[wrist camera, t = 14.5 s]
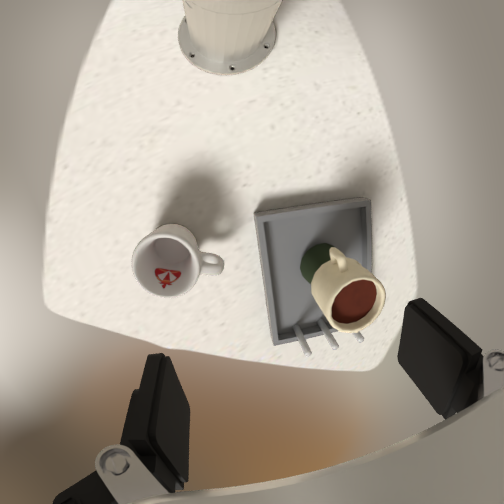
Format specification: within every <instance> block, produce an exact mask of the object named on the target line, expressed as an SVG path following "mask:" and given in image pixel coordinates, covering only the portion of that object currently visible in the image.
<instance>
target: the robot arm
mask: <svg viewBox="0 0 504 504" xmlns="http://www.w3.org/2000/svg"><path fill="white" fill-rule="evenodd" d="M182 1H183V6H184V11H185V16H184V18H183V20H182V22H181V24H180V27H179V31H178V41H179V45H180V48H181V51H182V53H183V54H184V56H185V57H186V59H187V60H188V61H189V62H190V63H191V64H192V65H194V66H195V67H197V68H199V69H200V70H203V71H205V72H208V73H212V74H216V75H236V74H240V73H244V72H246V71H249V70H251V69H253V68H255V67H256V66H258V65H259V64H261V63H262V62H263V61H264V60H265V59H266V58H267V56H268V55H269V53H270V52H271V50H272V48H273V46H274V42H275V34H276V32H275V27H274V23H273V21H272V20H273V18H274V16H275V14H276V12H277V10H278V8H279V6H280V4H281V2H282V0H182ZM264 47H267V48H268V49H266V48H264ZM192 55H194V57H193V58H192V57H191V56H192ZM231 68H234V70H233V71H232V70H231ZM481 352H482V349H481V348H480V347H479V346H478V345H477V344H476V343H474V342H473V341H472V340H471V339H470V338H469V337H468V336H467V335H465V334H464V333H463V332H462V331H461V330H460V329H459V328H457V327H456V326H455V325H454V324H453V323H452V322H450V321H449V320H448V319H447V318H446V317H444V316H443V315H442V314H441V313H440V312H439V311H437V310H436V309H435V308H434V307H433V306H431V305H430V304H429V303H428V302H427V301H425V300H424V299H423V298H418V299H415V300H412V301H410V302H408V305H407V306H406V307H405V311H404V318H403V326H402V333H401V339H400V345H399V351H398V362H399V364H400V365H401V366H402V367H403V369H404V370H405V371H406V373H407V374H408V375H409V377H410V378H411V379H412V380H413V382H414V383H415V384H416V386H417V387H418V388H419V390H420V391H421V392H422V394H423V395H424V396H425V398H426V399H427V400H428V401H429V403H430V404H431V405H432V407H433V408H434V410H435V411H436V412H437V413H438V414H439V415H442V416H443V417H444V419H445V420H444V421H442V422H440V423H438V424H436V425H435V426H433V427H431V428H429V429H427V430H425V431H422V432H420V433H418V434H416V435H414V436H412V437H410V438H407V439H405V440H403V441H401V442H398V443H396V444H394V445H391V446H389V447H387V448H384V449H381V450H379V451H377V452H374V453H371V454H368V455H365V456H363V457H360V458H357V459H354V460H351V461H348V462H345V463H342V464H338V465H335V466H332V467H328V468H325V469H321V470H318V471H313V472H310V473H306V474H301V475H297V476H293V477H288V478H283V479H278V480H273V481H268V482H262V483H256V484H249V485H242V486H235V487H228V488H218V489H208V490H207V489H206V490H197V491H185V492H177V493H175V490H183V489H184V482H188V475H189V474H188V470H189V429H190V428H189V427H190V406H189V403H188V401H187V398H186V396H185V394H184V391H183V389H182V386H181V384H180V382H179V380H178V377H177V374H176V372H175V369H174V366H173V364H172V361H171V359H170V357H169V356H166V357H165V355H164V354H163V353H159V354H149V355H148V357H147V360H146V364H145V368H144V372H143V375H142V379H141V384H140V388H139V389H135V390H134V391H133V393H132V396H131V400H130V404H129V408H128V412H127V416H126V420H125V424H124V428H123V433H122V437H121V442H120V445H111V446H109V447H106V448H104V449H103V450H102V451H100V453H99V454H98V456H97V458H96V460H95V468H96V471H95V472H93V473H91V474H90V475H88V476H87V477H85V478H84V479H82V480H81V481H79V482H77V483H76V484H74V485H73V486H71V487H69V488H68V489H66V490H65V491H63V492H61V493H60V494H58V495H57V496H56V497H55V499H54V501H53V504H504V351H502V350H498V349H497V350H496V349H495V350H490V351H488V352H487V353H485V355H484V356H483V355H482V354H481ZM456 412H457V414H455V413H456Z"/></svg>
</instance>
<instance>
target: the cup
mask: <svg viewBox="0 0 504 504" xmlns="http://www.w3.org/2000/svg"><path fill="white" fill-rule="evenodd" d="M223 269H224V261H223V259H222V258H221V257H220V256H218V255H216V254H212V253H206V252H201V251H200V250H199V249H198V245H197V241H196V239H195V237H194V235H193V234H192V233H191V232H190V231H189V230H188V229H187V228H185V227H184V226H181V225H178V224H166V225H163V226H160V227H159V228H157V229H156V230H154V231H153V232H151V233H150V234H149V235H147V236H146V237H144V238H143V239H142V240H141V241H140V242H139V243H138V245H137V246H136V248H135V250H134V252H133V255H132V271H133V274H134V277H135V279H136V280H137V282H138V283H139V285H140V286H141V287H142V288H143V289H144V290H146V291H147V292H148V293H150V294H152V295H154V296H157V297H161V298H175V297H179V296H181V295H183V294H185V293H187V292H188V291H189V290H191V289H192V288H193V286H194V285H195V284H196V282H197V280H198V278H199V275H211V276H214V275H219V274H221V273H222V271H223Z"/></svg>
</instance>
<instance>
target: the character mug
mask: <svg viewBox="0 0 504 504" xmlns="http://www.w3.org/2000/svg"><path fill="white" fill-rule="evenodd" d="M300 270H301V273H302V276H303V277H304V278H305V279H306V280H307V281H308V282H309V283H310V284H311V293H312V295H313V297H314V299H315V301H316V302H317V304H318V306H319V307H320V309H321V310H322V312H323V313H324V315H325V317H326V318H327V320H328V321H329V323H330V324H331V326H332V327H333V328H335V329H337V330H338V331H340V332H345V333H353V332H354V333H358V332H359V331H360V330H363V329H364V328H366V327H367V326H369V325H370V324H372V323H373V322H374V320H375V319H376V318H377V317H378V316H379V315H380V313H381V311H382V309H383V307H384V304H385V299H386V293H385V289H384V287H383V285H382V283H381V282H380V281H379V280H378V279H377V278H375V276H374V275H373V274H372V273H371V272H370V271H368V270H367V269H366V268H364V267H362V265H361V264H360V263H359V262H358V261H356V260H355V259H351V258H346V257H345V255H344V254H343V253H342V252H341V251H340V250H338V249H337V248H335V247H334V246H333V245H330V244H327V243H322V244H317V245H315V246H314V247H312V248H310V249H309V250H307V252H306V253H305V255H304V256H303V257H302V259H301V264H300Z"/></svg>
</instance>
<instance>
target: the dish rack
mask: <svg viewBox="0 0 504 504" xmlns="http://www.w3.org/2000/svg"><path fill="white" fill-rule="evenodd" d="M254 220H255V227H256V234H257V241H258V248H259V255H260V262H261V269H262V276H263V283H264V290H265V297H266V304H267V311H268V319H269V326H270V333H271V338H272V342H273V345H274V346H275V345H280V344H285V343H290V342H294V341H299V343H300V345H301V348H302V350H303V352H304V355H305V356H307V357H308V356H310V355H311V354H312V352H311V350H310V348H309V346H308V344H307V342H306V340H305V339H308V338H312V337H316V336H320V335H325V337H326V339H327V340H328V342H329V344H330V346H331V347H332V349H333V350H336V349H337V348H338V347H339V345H338V343H337V342H336V340H335V339H334V337H333V335H332V334H331V333H333V332H337V331H338V330H337V329H335V328H333V327H332V326H331V324H330V323H329V321H328V320H327V318H326V317H325V315H324V313H323V312H322V310H321V309H320V307H319V306H318V304H317V302H316V301H315V299H314V297H313V295H312V293H311V284H310V283H309V282H308V281H307V280H306V279H305V278H304V277H303V276H302V273H301V270H300V264H301V259H302V257H303V256H304V255H305V253H306V252H307V250H309V249H310V248H312V247H314V246H315V245H317V244H322V243H327V244H330V245H333V246H334V247H335V248H337V249H338V250H340V251H341V252H342V253H343V254H344V255H345V257H346V258H351V259H355V260H356V261H358V262H359V263H360V264H361V265H362V267H364V268H366V269H367V270H368V271H370V272H371V273H372V224H371V200H369V199H366V198H364V197H359V198H352V199H344V200H337V201H329V202H322V203H315V204H308V205H301V206H295V207H288V208H282V209H275V210H269V211H263V212H256V213H254ZM352 334H353V335H354V337H355V338H356V339H357V341H358V342H359V343H361V342H363V341H364V337H363V336H362V335H361V333H360V332H358V333H354V332H353V333H352Z"/></svg>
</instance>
